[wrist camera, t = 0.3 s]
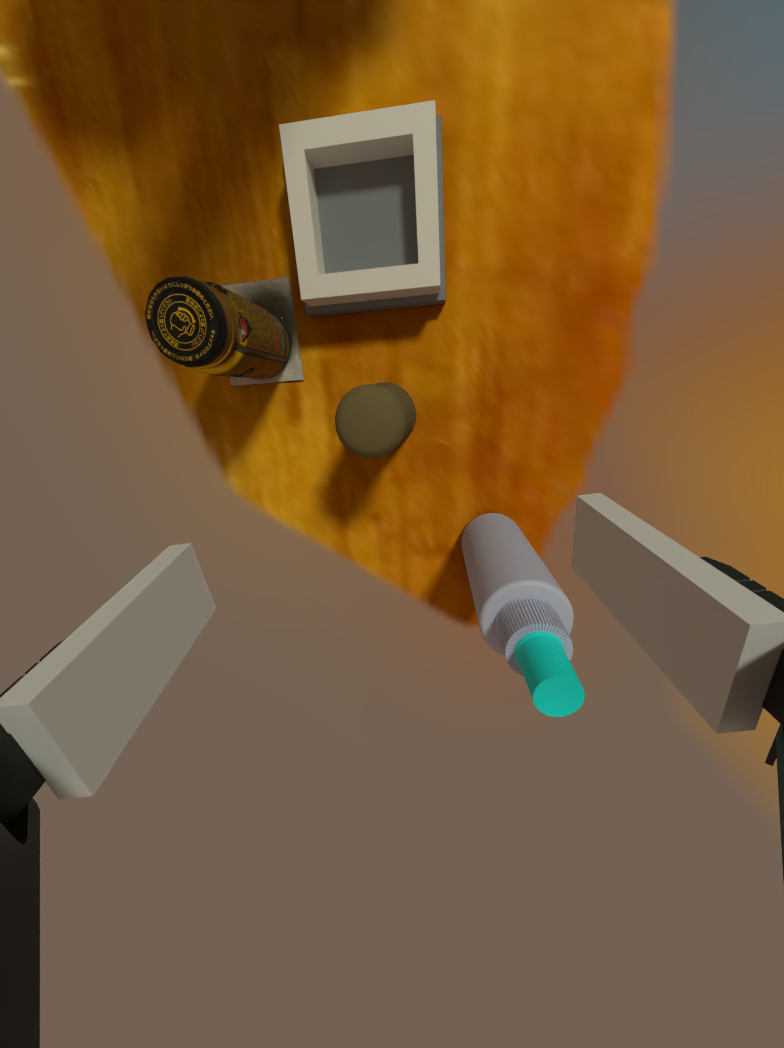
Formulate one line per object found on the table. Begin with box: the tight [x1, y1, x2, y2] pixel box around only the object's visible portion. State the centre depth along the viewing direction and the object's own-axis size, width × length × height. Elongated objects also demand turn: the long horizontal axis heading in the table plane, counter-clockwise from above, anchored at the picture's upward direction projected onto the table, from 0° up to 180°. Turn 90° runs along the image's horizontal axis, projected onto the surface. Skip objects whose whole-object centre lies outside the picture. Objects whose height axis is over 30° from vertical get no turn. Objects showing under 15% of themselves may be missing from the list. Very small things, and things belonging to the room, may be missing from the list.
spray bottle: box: [461, 513, 585, 717], centre depth 29 cm, size 6×6×22 cm
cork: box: [335, 383, 416, 458], centre depth 32 cm, size 6×6×11 cm
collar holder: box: [279, 100, 446, 317], centre depth 30 cm, size 12×12×4 cm
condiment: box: [145, 276, 304, 386], centre depth 30 cm, size 7×8×12 cm
